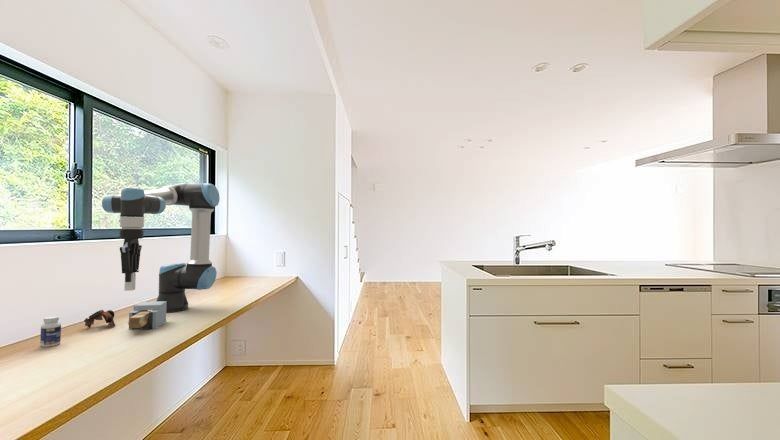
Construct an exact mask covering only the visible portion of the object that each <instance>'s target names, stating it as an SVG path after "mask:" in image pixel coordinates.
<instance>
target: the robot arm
mask: <svg viewBox="0 0 780 440" xmlns="http://www.w3.org/2000/svg"><path fill="white" fill-rule="evenodd" d="M120 192H121V193H120V194H114V193H113V194H107V195H105V196H103V198H102V200H101V207H102V209H103V211H105V212H106V213H111V214H120V215H119V216H120V219H119V220H118V221H119V227H120V229H119V239H121V240H122V239H123V245H122V246H120V247H119V253H120V261H121V263H120V264H121V274H124V291H127V292H128V291H129V292H130V291H134V290H136V281H137V280H136V276H137V273H139V272H140V270H139V269H140V261H141V252H142V247H143V245H142V244H140V241H139V240H141V239H143V238H144V229H143V228H144V227H145V226H144V225H145V223H144V222H145V217H144V216H145V214H148V215H149V214H151V215H159V214H162V213H163V212H165V209H166V208H167V206H185V207H186V206H187V207H188V210H189V211H190V212H191V231H190V232H191V233H190V252H189V253H190V255H189V260H188V261H187V262H179V263H171V264H165V265H162V266H160V267H159V272H158V296H157V298H156V301H167V307H166V313H176V312H180V311H181V312H182V311H186V310H188V309H189V300H188V298H187V296H186V290H198V291H199V290H200V291H202V290H209V289H210V288H212V287H213V285H214V283H215V282H216V279H217V269H216V267H214V266H213V262H212V261H211V260H210V247H211V245H210V244H211V243H210V242H211V239H210V238H211V220H212V219H211V217H212V216H211V215H212V213H213V212H214V211H215V207H217V206H218V205H219V203H220V201H221V200H220V199H221V198H220V193H219V190H218V188H217V187H216V186H215V185H214V184H212V183H206V182H205V183H204V182H195V183H194V182H190V183H189V182H182V183H177V184H171V185H170V184H169V185H165V186H162V187H161V188H159V189H150V190H144V189H143V188H139V187H124V188H122V189H121V191H120ZM156 301H155V302H156Z"/></svg>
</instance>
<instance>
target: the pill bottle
mask: <svg viewBox="0 0 780 440" xmlns="http://www.w3.org/2000/svg"><path fill="white" fill-rule="evenodd" d="M59 317H60V316H58V315H53V316H46V317H43V323H42V325H40V338H39V339H40V341H39V342H40V343H39V345H40V347H43V348H44V347H45V348H47V347H54V346H57V345H59V344H61V340H62V339H61V337H62V336H61V335H62V323H61V322H60V318H59Z"/></svg>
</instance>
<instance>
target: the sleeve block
mask: <svg viewBox="0 0 780 440" xmlns="http://www.w3.org/2000/svg"><path fill="white" fill-rule="evenodd" d="M166 307H167V301H141V302H138V303H137V304H134V305H133V310H132V311H129V313H128V319H129V318H130V317H132V316H134V315H136V314H138V313H139V312H141V311H151V312H149V323H147V324H145V325H144V326H142V327H141V328H129V327H128V330H131V331H137V330H139V331H141V330H156V329H158V328H159V327H161V326H162V325H163V324H164V323H166V322H167V312H166Z"/></svg>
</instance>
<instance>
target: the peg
mask: <svg viewBox="0 0 780 440" xmlns="http://www.w3.org/2000/svg"><path fill="white" fill-rule="evenodd" d="M151 311H152V310H148V311H141V312H139V313H138V314H136V315H134V316H132V317H130V318H129V317H128V329H129V328H141V327H142V326H144V325H145V324H147V323H149V312H151Z"/></svg>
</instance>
